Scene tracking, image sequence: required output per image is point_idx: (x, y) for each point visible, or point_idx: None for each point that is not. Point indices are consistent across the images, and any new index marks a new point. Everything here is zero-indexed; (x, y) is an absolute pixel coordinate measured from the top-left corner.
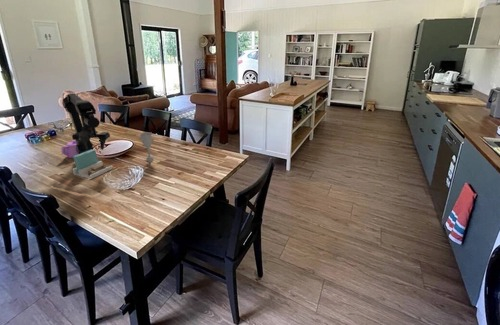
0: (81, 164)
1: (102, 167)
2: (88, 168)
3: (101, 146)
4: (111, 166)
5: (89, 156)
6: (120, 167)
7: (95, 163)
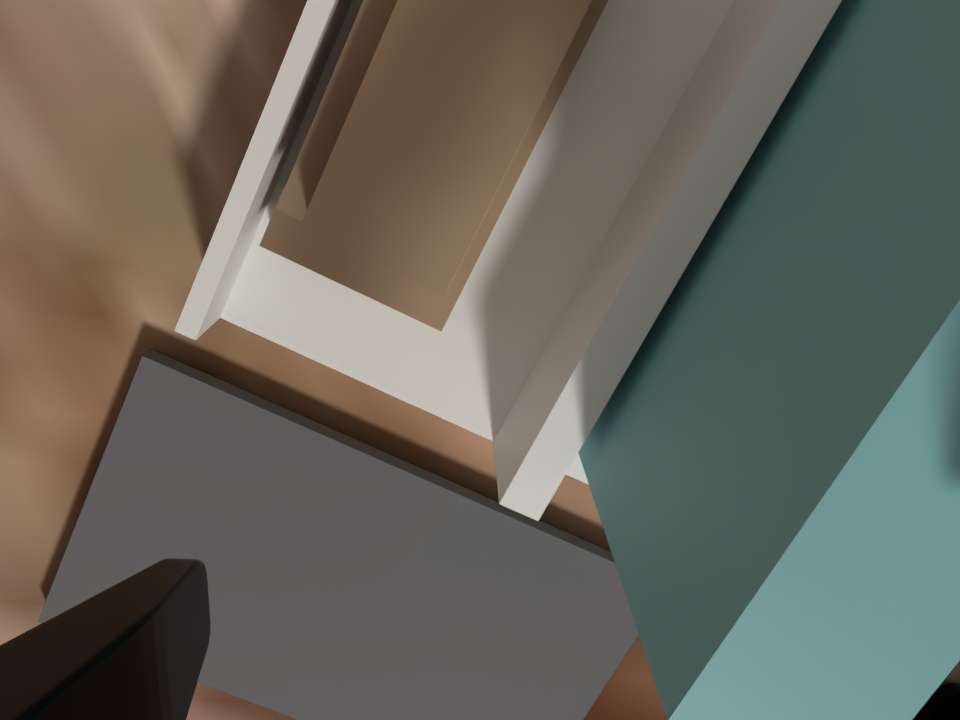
0: (923, 6)
1: (335, 143)
2: (707, 106)
3: (48, 667)
4: (194, 297)
5: (786, 374)
6: (117, 417)
7: (607, 353)
